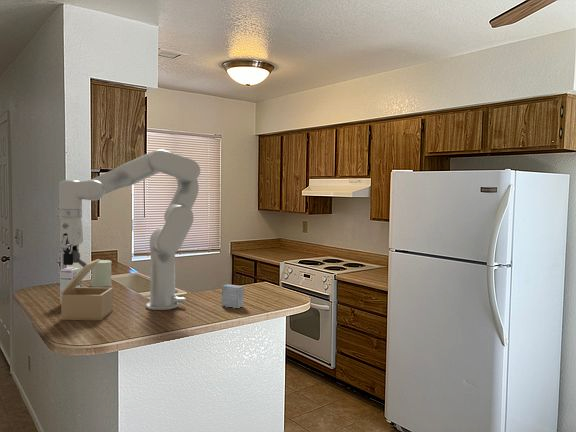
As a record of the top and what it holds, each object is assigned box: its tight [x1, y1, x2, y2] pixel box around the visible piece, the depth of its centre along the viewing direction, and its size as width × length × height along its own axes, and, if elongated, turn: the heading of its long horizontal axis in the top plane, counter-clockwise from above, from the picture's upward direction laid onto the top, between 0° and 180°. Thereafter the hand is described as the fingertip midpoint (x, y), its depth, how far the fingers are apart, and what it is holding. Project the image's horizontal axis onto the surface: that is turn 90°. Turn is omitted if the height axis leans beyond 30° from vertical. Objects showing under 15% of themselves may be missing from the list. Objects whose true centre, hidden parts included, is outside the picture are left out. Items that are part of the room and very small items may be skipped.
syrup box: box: [59, 266, 82, 304], centre depth 191 cm, size 6×6×14 cm
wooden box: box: [60, 286, 114, 321], centre depth 176 cm, size 14×13×9 cm
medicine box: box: [221, 283, 245, 309], centre depth 194 cm, size 8×4×9 cm, turn 65°
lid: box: [59, 250, 101, 295], centre depth 175 cm, size 14×13×9 cm
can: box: [90, 259, 113, 288], centre depth 228 cm, size 9×9×12 cm
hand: (71, 263), depth 175 cm, fingers closed on lid, 4 cm apart
